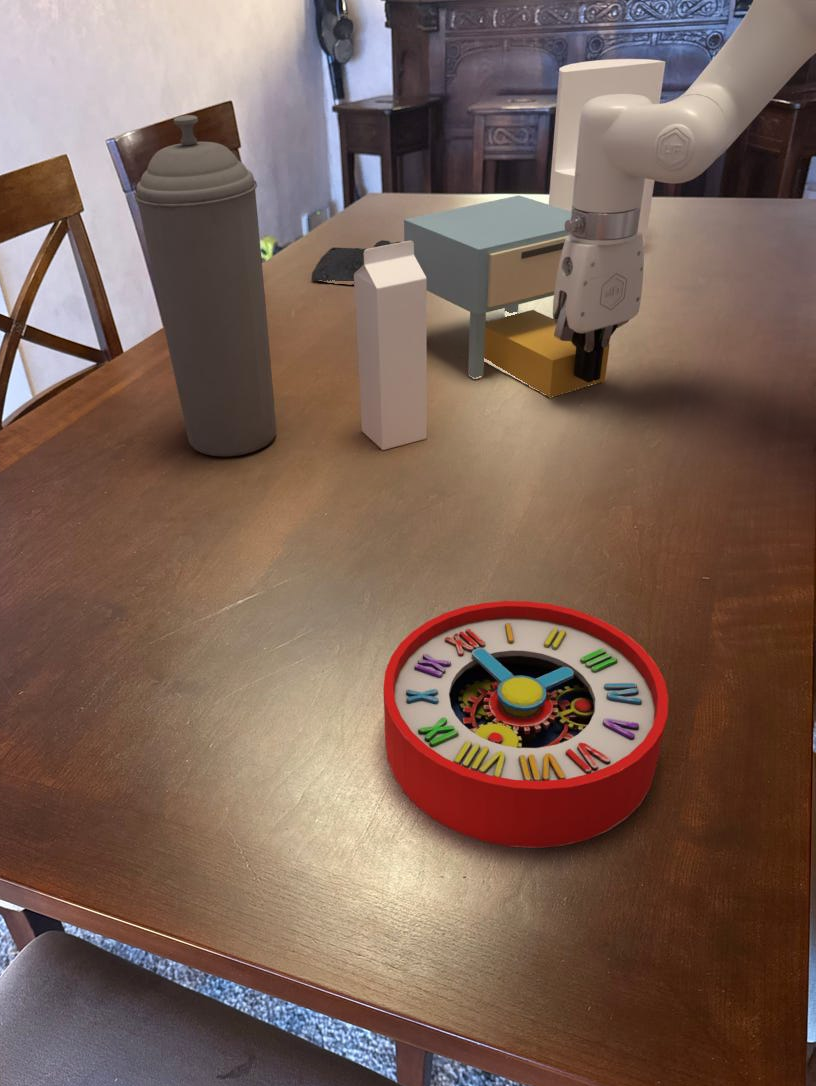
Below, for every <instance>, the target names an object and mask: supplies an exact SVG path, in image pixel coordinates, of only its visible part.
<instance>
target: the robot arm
mask: <svg viewBox="0 0 816 1086" xmlns="http://www.w3.org/2000/svg"><path fill="white" fill-rule="evenodd" d="M815 54H816V0H753V1H752V2H751V5H750V7H749V8H748V10H747V11H746V13H745V15H744V17H743V18H742V20H741V21H740V23H739V24H738V26H737V27H736V28H735V30H734V31H733V33H731V35H730V36H729V38H728V39H727V41H726V42H725V43H724V44H723V46H722V47H721V49H720V50H719V51H717V53H716V54H715V55H714V57H713V58H712V59H711V61H710V62H709V63H708V64H707V65H706V67H705V68H704V69H703V70H702V72H701V73H700V74H699V75H698V77H697V78H696V79H695V80H694V82H693V83H692V84H691V85H690V86H689V88H688V89H687V90H685V92H684V93H683V94H681V95H680V96H678V97H676V98H675V99H673V100H670V101H668V102H667V101H666V102H664V103H660V104H652V103H651V101H650V100H649V99H648V98H647V97H644V96H641V95H635V94H611V95H604V96H599V97H595V98H593V99H591V100H589V101H588V102H587V103H586V104H585V106H584V107H583V109H582V112H581V117H580V125H579V136H578V146H577V157H576V168H575V180H574V191H573V201H572V211H571V219H570V220H567V221H566V222H565V231H566V232H568V233H569V232H570V233H569V237H567V238H566V239H565V243H564V246H563V250H562V254H561V258H560V262H559V267H558V272H557V278H556V284H555V291H554V296H553V302H552V319H553V320H554V322H555V323H557V325H556V329H555V332H554V337H555V338H557V339H559V340H561V341H571V342H572V345H573V346H575V347H576V355H575V364H574V375H575V376H576V377H578V378H580V379H582V380H584V381H586V382H588V383H589V382H592V381H593V380H595V381H596V380H599V379H600V375H601V367H602V359H603V351H604V348H606V347H607V346H608V345H609V344H610V343H611V342H610V341H611V337H612V336H613V334H614V333H615V332H616V330H617V329H619V328H620V327H622V326H624V325H627V323H628V322H630V320H633V319H634V318H635V317H637V315H638V314H639V311H640V307H641V303H642V293H643V282H644V268H645V249H644V245H643V235H642V232H641V231H639V230H638V225H639V218H640V211H641V204H642V196H643V189H644V182H645V178H646V179H650V180H655V181H654V182H659V183H664V184H683V183H686V182H690V181H692V180H694V179H696V178H697V177H700V175H702V174H703V173H704V172H705V171H706V170H707V169H708V168H709V167H710V166H712V165H713V163H714V162H715V161H716V160H717V159H718V158H720V157H721V156H722V155H723V154H724V153H725V152H726V151H728V149H729V148H730V147H731V146H732V144H733V143H734V142H735V141H736V140H737V139H738V138H739V137H740V135H742V134H743V132H744V131H745V130H747V128H748V126H749V125H750V124H751V123H752V122H753V121H754V120H755V118H757V116H758V115H759V114H760V113H761V112H762V111H763V110H764V109H765V107H766V106H767V105H768V104H769V103H770V102H771V101H772V99H774V97H775V96H776V95H777V94H778V93H779V91H780V90H782V88H784V86H785V85H786V84H787V83H788V82H789V81H790V80H791V78H792V77H793V76H794V75H795V74H796V73H797V71H798V70H800V68H802V67H803V65H804V64H806V63H807V61H808V60H809V59H810V58H812V57H813V56H814V55H815Z"/></svg>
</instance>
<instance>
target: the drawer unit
mask: <svg viewBox="0 0 816 1086" xmlns="http://www.w3.org/2000/svg"><path fill="white" fill-rule="evenodd" d="M570 219H571V211H568V210H565V209H561V208H558V207H555V206H552V205H549V203H545V202H541V201H539V200H535V199H533V198H528V197H526V196H522V195H514V196H509V197H503V198H500V199H495V200H490V201H485V202H480V203H476V204H472V205H471V204H470V205H467V206H461V207H457V208H451V209H447V210H442V211H436V212H433V213H432V212H431V213H428V214H427V213H426V214H423V215H418V216H414V217H409V218H404V219H403V242H406V241H413V243H414V256H415V258H416V260H417V261H418V263H419V265H420V267H421V269H422V271H423V272H424V274H425V276H426V292H429V293H431V294H433V295H435V296H437V297H438V298H440V299H443V300H445V301H447V302H449V303H451V304H452V305H455V306H457V307H459V308H461V309H463V310H465V311H467V312H469V334H468V335H469V339H468V369H467V370H468V371H467V372H468V373H467V375H468V374H469V375H470V376H472V377H474V378H476V377H479V376H482V375H483V376H484V370H485V369H484V367H485V363H484V348H485V324H486V322H487V321H486V320H487V313H491V312H495V311H499V310H502V309H504V312H505V311H507V312H509V313H513V312H517V311H518V312H519V306H520V305H522V304H526V303H530V302H535V301H537V300H538V301H539V300H542V299H545V298H549V297H554V291H555V284H556V278H557V272H558V267H559V262H560V258H561V254H562V250H563V246H564V243H565V239H566V238H567V237H569V233H570V232H569V233H568V232H566V231H565V222H566V221H567V220H570Z"/></svg>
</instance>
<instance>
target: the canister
mask: <svg viewBox="0 0 816 1086" xmlns="http://www.w3.org/2000/svg"><path fill="white" fill-rule="evenodd" d="M198 122H199V119H198V116H196V115H192V114H187V115H186V114H185V115H180V116H179V115H178V116H177V117H175V118H173V124H174V125H175V126H177V127H179V129H180V130H181V132H182V133H181V135H182V136H181V139H180V143H176V144H171V145H168V146H166V147H163V148H161V149H159V150H158V151H156V152H155V153H154V154H153V156H152V157H151V159H150V161H149V162H148V165H147V169H146V170H145V171H144V172H143V173H142V175H141V178H140V180H139V182H138V183H137V184H136V190H135V191H136V192H135V195H134V198H135V201H136V202H137V206H138V210H139V211H138V212H139V215H140V219H141V224H142V230H143V232H144V233H143V235H144V238H145V243H146V248H147V253H148V258H149V262H150V263H149V264H150V267H151V272H152V277H153V281H154V287H155V291H156V295H157V296H156V297H157V300H158V304H159V305H158V306H159V310H160V315H161V319H162V323H163V324H162V325H163V328H164V333H165V338H166V343H167V347H168V352H169V356H170V360H171V365H172V370H173V375H174V379H175V384H176V388H177V389H176V390H177V394H178V398H179V402H180V407H181V411H182V416H183V421H184V425H185V431H186V434H187V439H188V442H189V444H190V445H191V447H192V448H193V449H194V450H195V451H198V452H199V453H201V454H203V455H207V456H211V457H222V458H223V457H225V458H226V457H228V458H230V457H237V456H244V455H246V454H251V453H254V452H256V451H259V450H261V449H263V448H265V447H267V445H269V444H270V443H271V442H273V440H274V439H275V436H276V434H277V422H276V408H275V400H274V399H275V398H274V387H273V375H272V361H271V351H270V339H269V337H270V336H269V325H268V315H267V305H266V294H265V281H264V272H263V271H264V270H263V261H262V260H263V259H262V250H261V249H262V247H261V238H260V227H259V226H260V225H259V217H258V216H259V215H258V206H257V195H256V194H257V193H256V189H257V187H258V182H257V181H256V180H255V178H254V174H253V173H252V171H251V170H249V169H247V167H246V165H245V164H244V163H243V162H241V161H240V160H238V158H237V156H236V155H235V153H233V151H231V150H230V149H229V148H228V147H227V146H225V145H224V144H222V143H218V142H213V141H198V139H197V138H196V137H195V135H194V131H193V129H194V126H195V125H196V124H197V123H198Z"/></svg>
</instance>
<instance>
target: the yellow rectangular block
mask: <svg viewBox="0 0 816 1086" xmlns="http://www.w3.org/2000/svg"><path fill="white" fill-rule="evenodd" d="M556 325H557V323H555V322H554V320H553V317H550V316H548V315H545V314H544V313H541V312H539V311H536V310H535V309H529V310H527V311H523V312H518V314H515V315H511V316H507V317H504V316H503V317H500V318H496V319H492V320H489V321H486V324H485V348H484V358H485V359H487V360H489V361H491V362H492V363H493V364H495V365H496V366H498V367H500V368H502V369H503V370H505V371H507V372H508V373H510V374H511V375H513V376H515V377H516V378H518V379H520V380H522V381H523V382H525V383H527V384H528V385H530V386H531V387H533V388H535V389H537V390H539V391H540V392H542V393H544V394H546V395H547V396H548V397H552V396H555V395H558V396H560V395H559V394H562V393H565V394H567V393H566V392H568V393H570V392H569V391H571V392H574V391H573V390H575V389H578V388H581V389H583V388H582V387H585V388H587V387H586V386H588V385H591V384H594V385H596V384H595V383H598V384H600V383H599V382H601V383H604V382H606V376H607V369H608V361H609V353H610V347H611V346H610V345H611V343H609V345H608V346H607V347H606V348H604V351H603V359H602V367H601V375H600V379H599V380H596V381H595V380H593V381H592V382H589V383H588V382H586V381H584V380H582V379H580V378H578V377H576V376H575V375H574V364H575V355H576V347H575V346H573V345H572V342H571V341H561V340H559V339H557V338H555V337H554V332H555V329H556ZM603 381H604V382H603ZM591 386H592V385H591ZM588 387H589V386H588ZM578 390H579V389H578ZM575 391H576V390H575ZM562 395H563V394H562ZM548 397H547V398H548ZM555 397H556V396H555ZM552 398H553V397H552Z"/></svg>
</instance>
